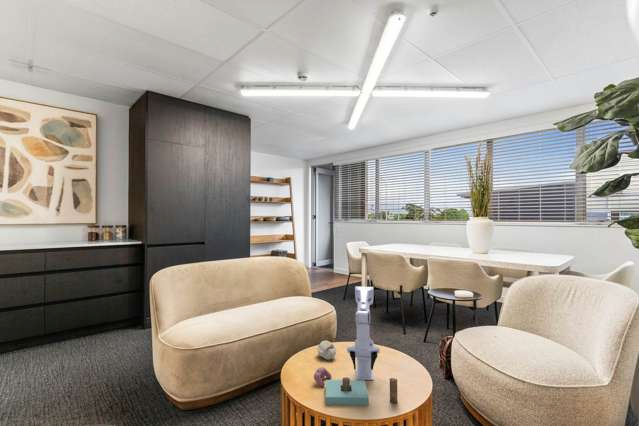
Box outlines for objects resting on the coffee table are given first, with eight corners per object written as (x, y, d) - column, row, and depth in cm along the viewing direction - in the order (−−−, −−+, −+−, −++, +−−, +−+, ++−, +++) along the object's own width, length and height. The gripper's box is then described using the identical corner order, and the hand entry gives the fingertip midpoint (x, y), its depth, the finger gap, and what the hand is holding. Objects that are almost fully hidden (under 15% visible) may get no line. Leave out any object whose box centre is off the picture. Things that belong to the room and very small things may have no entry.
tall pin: (389, 399, 129) (388, 377, 129) (396, 399, 129) (396, 378, 129) (390, 403, 126) (390, 381, 126) (398, 403, 125) (397, 381, 126)
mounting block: (326, 386, 139) (326, 379, 139) (364, 387, 138) (364, 380, 139) (325, 404, 125) (325, 396, 125) (368, 405, 124) (368, 397, 125)
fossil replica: (330, 363, 162) (339, 358, 171) (332, 348, 163) (341, 343, 171) (312, 356, 169) (321, 352, 177) (314, 341, 170) (323, 337, 178)
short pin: (342, 393, 133) (342, 377, 134) (349, 393, 133) (349, 377, 134) (342, 397, 130) (342, 380, 131) (349, 397, 130) (349, 381, 130)
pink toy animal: (325, 379, 148) (319, 365, 150) (332, 377, 147) (326, 363, 148) (316, 389, 139) (310, 374, 141) (324, 387, 138) (318, 371, 139)
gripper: (347, 340, 132) (347, 372, 131) (380, 341, 131) (381, 373, 130) (346, 335, 139) (346, 365, 138) (378, 335, 138) (378, 366, 137)
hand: (363, 368), depth 134 cm, fingers open, 7 cm apart
